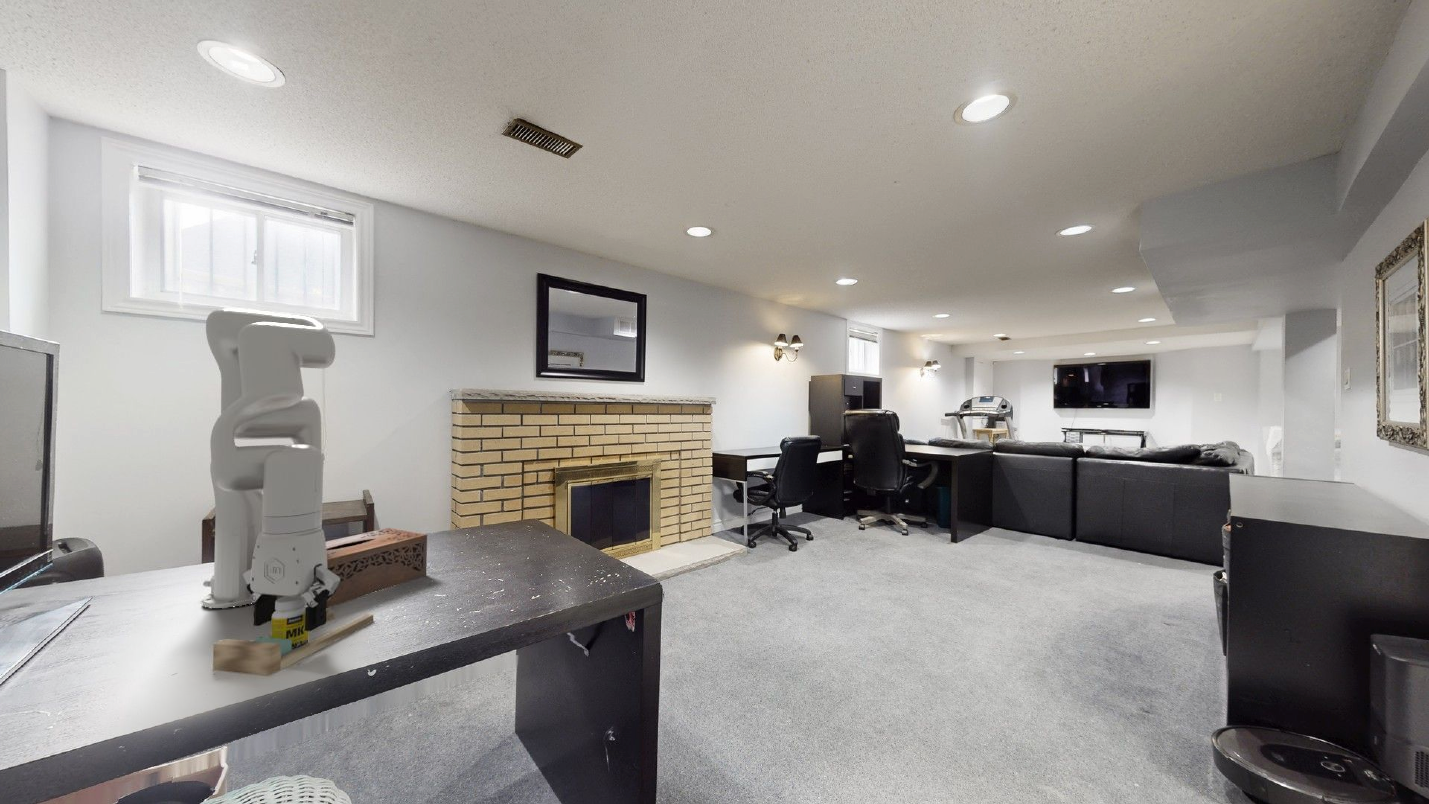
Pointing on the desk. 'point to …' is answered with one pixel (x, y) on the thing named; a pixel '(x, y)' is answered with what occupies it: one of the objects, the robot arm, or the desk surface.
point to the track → (274, 650)
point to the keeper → (285, 643)
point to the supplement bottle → (290, 620)
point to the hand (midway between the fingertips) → (290, 625)
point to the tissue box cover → (374, 562)
